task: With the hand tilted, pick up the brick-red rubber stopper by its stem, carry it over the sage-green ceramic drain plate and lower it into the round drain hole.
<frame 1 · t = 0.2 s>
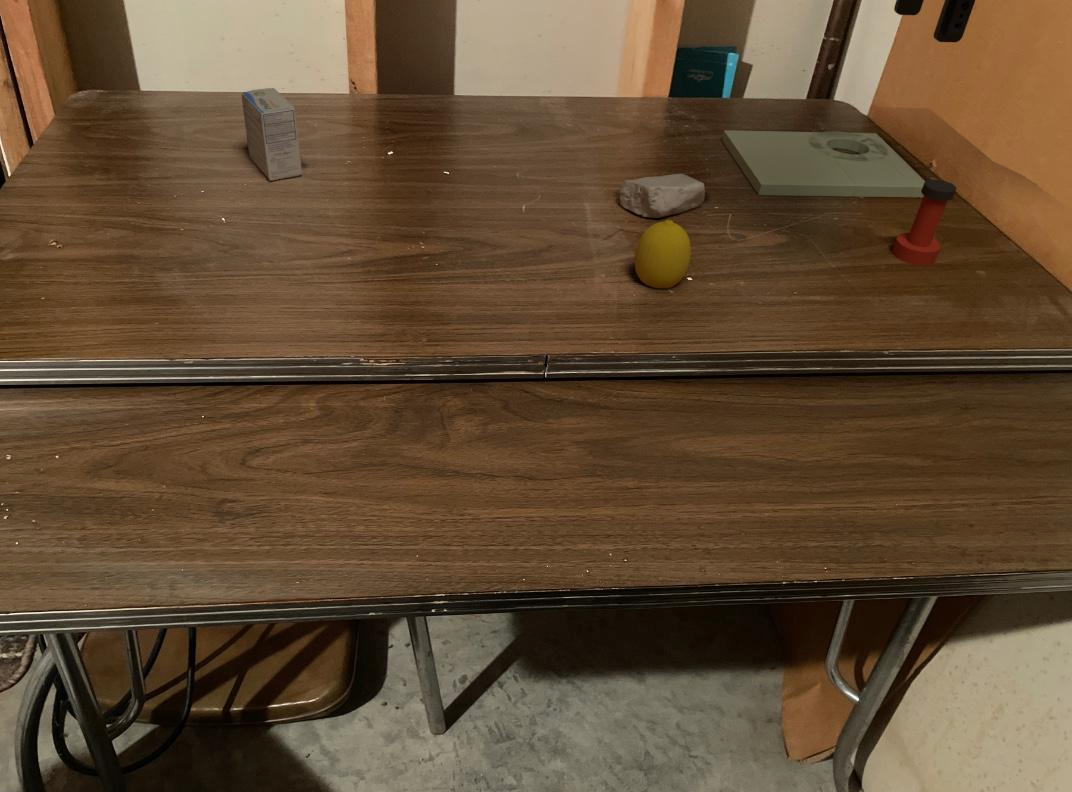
hand: (924, 27, 81), 26 cm above the table, tool pointing down, fingers open, 8 cm apart
medicine box: (275, 169, 116), on the table
stopper: (909, 266, 102), on the table
lemon: (655, 292, 96), on the table
grey chipped rock: (663, 209, 112), on the table
drain plate: (819, 167, 123), on the table
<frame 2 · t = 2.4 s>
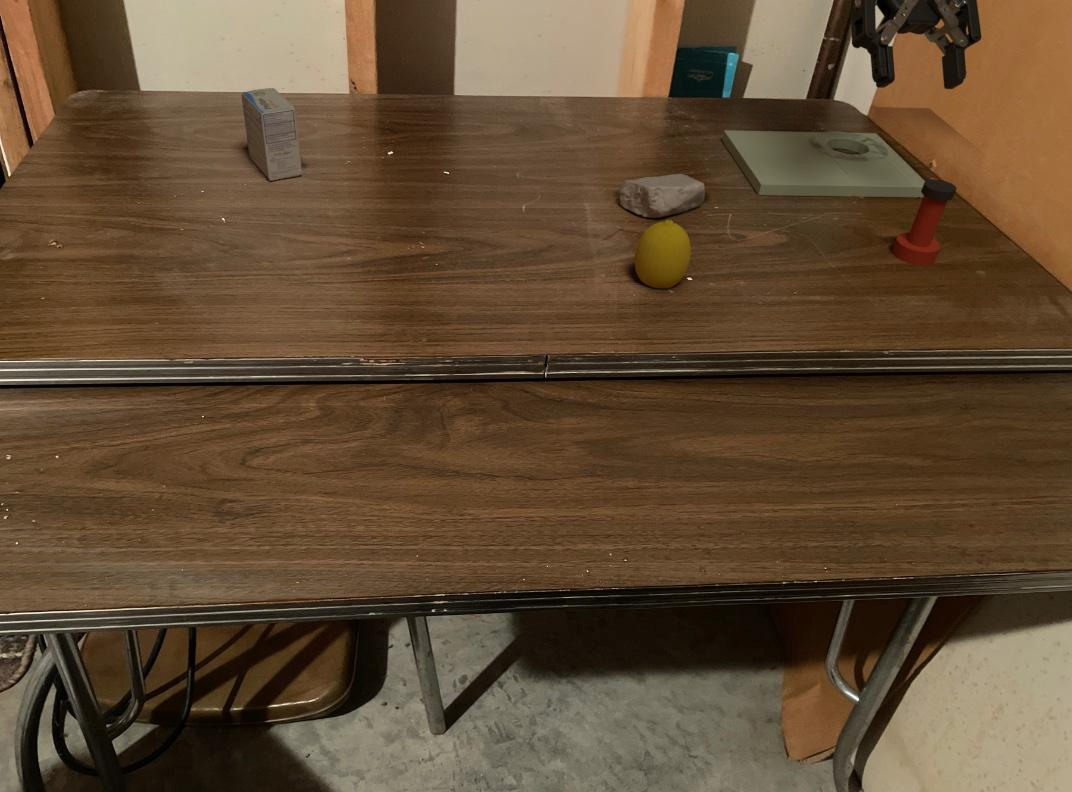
hand: (920, 85, 99), 17 cm above the table, tool tilted 40°, fingers open, 8 cm apart
nothing on the table moved.
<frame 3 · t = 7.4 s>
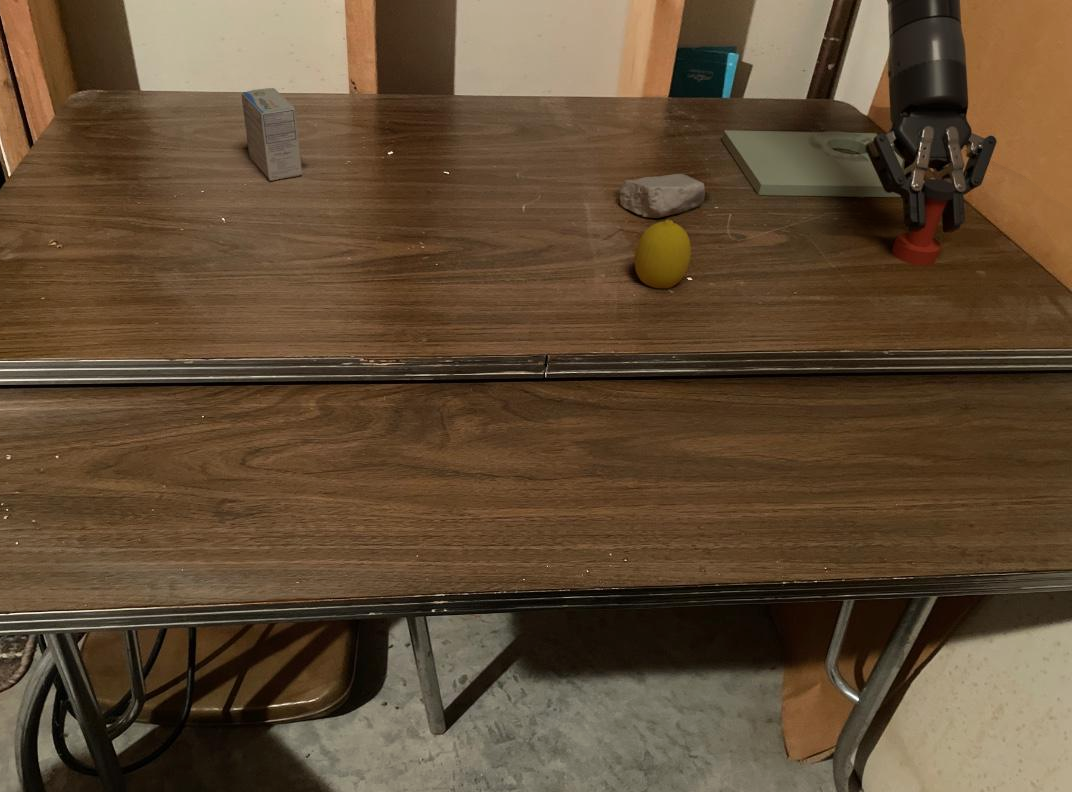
hand: (934, 229, 97), 5 cm above the table, tool tilted 45°, fingers closed on stopper, 3 cm apart
stopper: (909, 266, 102), on the table, touching gripper
everything else where it was.
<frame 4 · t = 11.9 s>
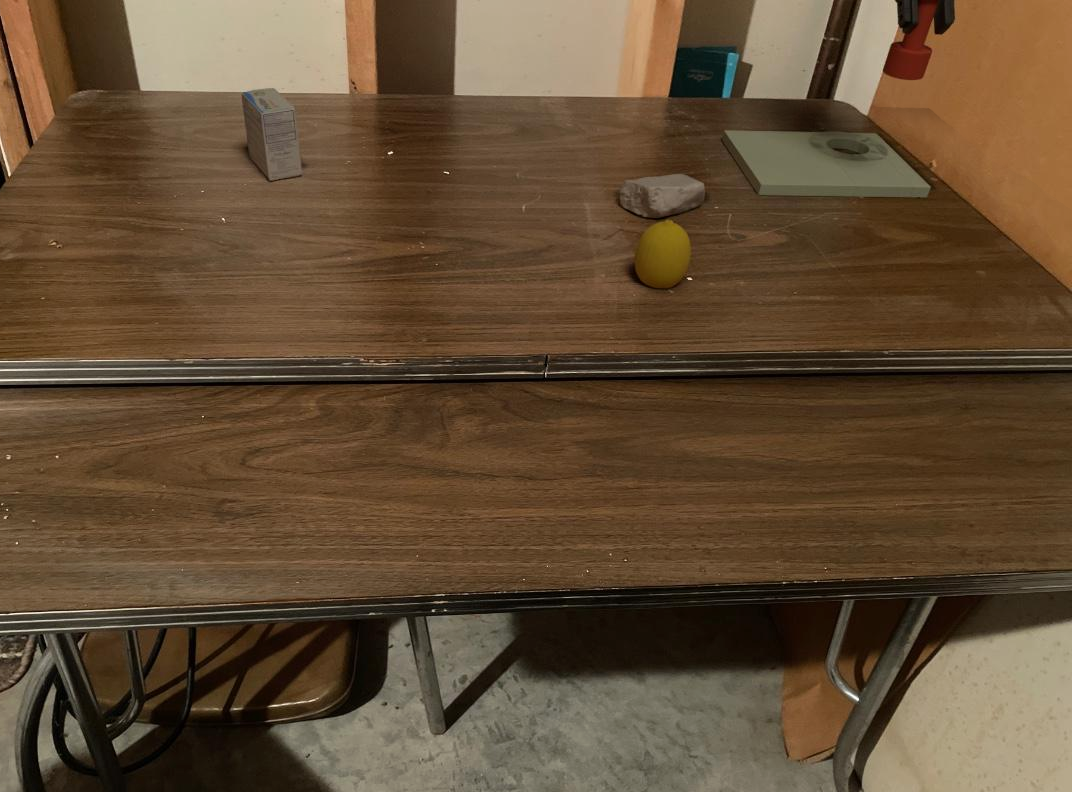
hand: (927, 29, 103), 20 cm above the table, tool tilted 45°, fingers closed on stopper, 3 cm apart
stopper: (902, 73, 108), point 15 cm above the table, touching gripper
everything else where it was.
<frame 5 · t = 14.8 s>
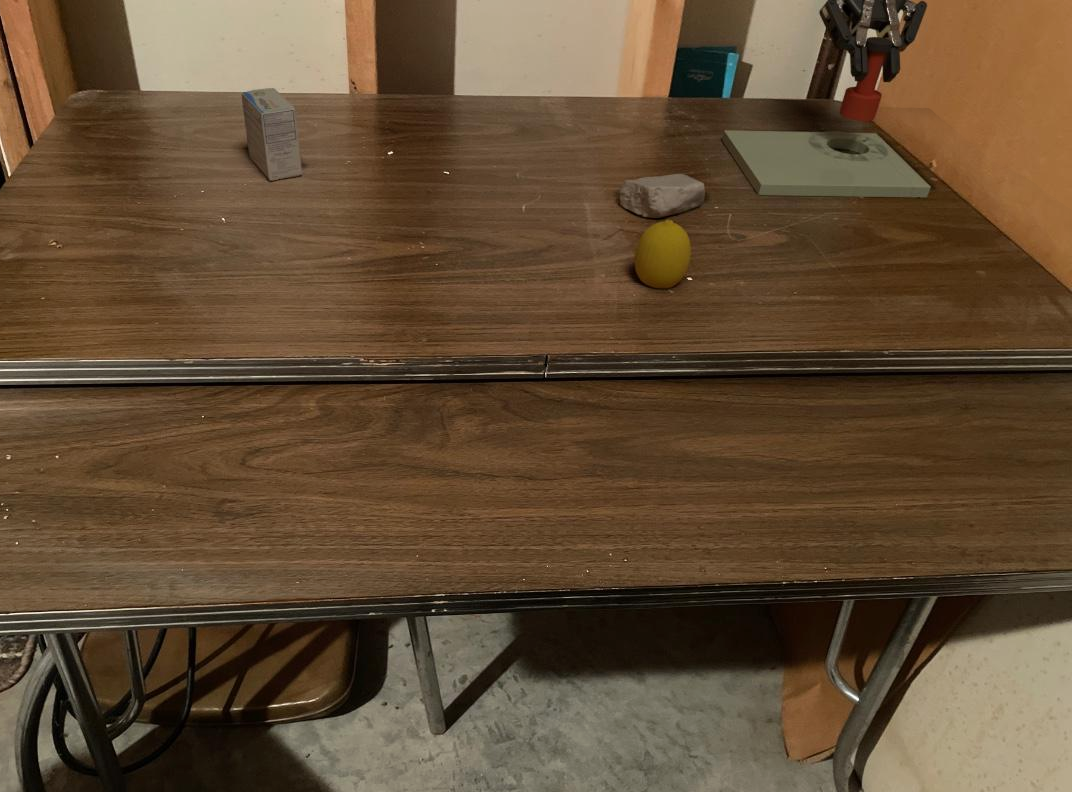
hand: (875, 78, 118), 11 cm above the table, tool tilted 45°, fingers closed on stopper, 3 cm apart
stopper: (856, 115, 123), point 6 cm above the table, touching gripper
everything else where it was.
when the fingers open (5 cm above the table, at t = 16.8 s): stopper stays where it is, resting in drain plate.
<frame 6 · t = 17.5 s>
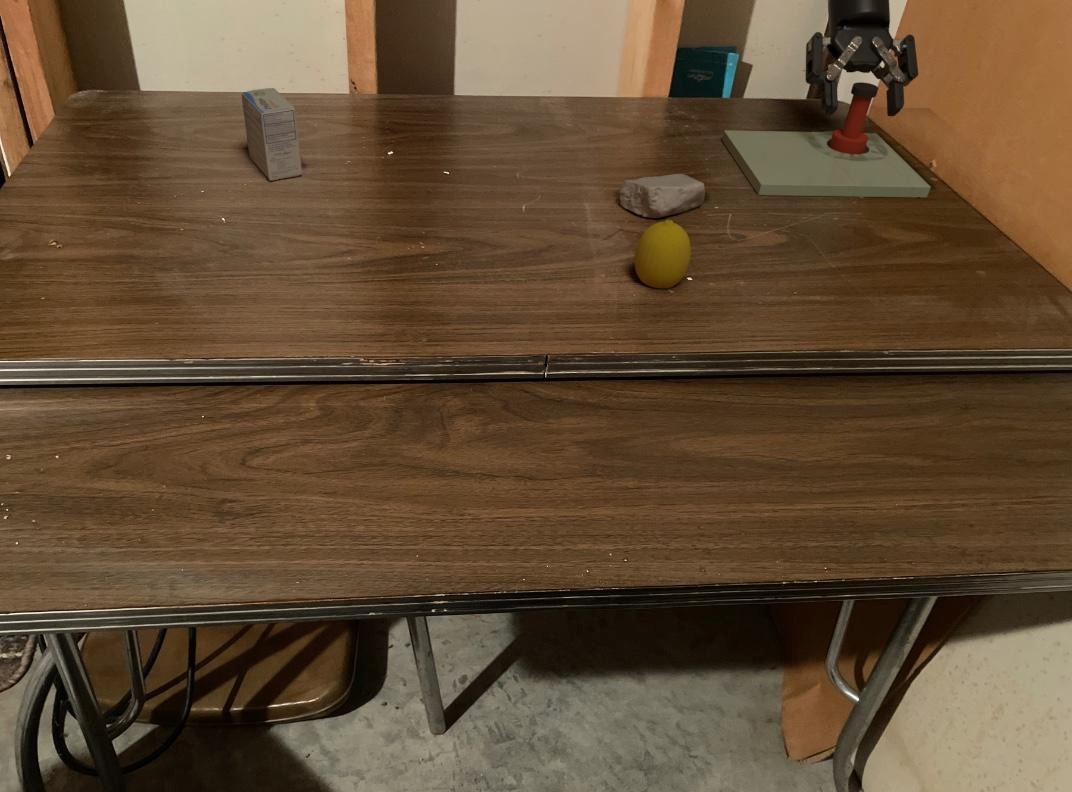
hand: (863, 113, 121), 6 cm above the table, tool tilted 45°, fingers open, 8 cm apart
stopper: (844, 156, 126), resting in drain plate
everything else where it was.
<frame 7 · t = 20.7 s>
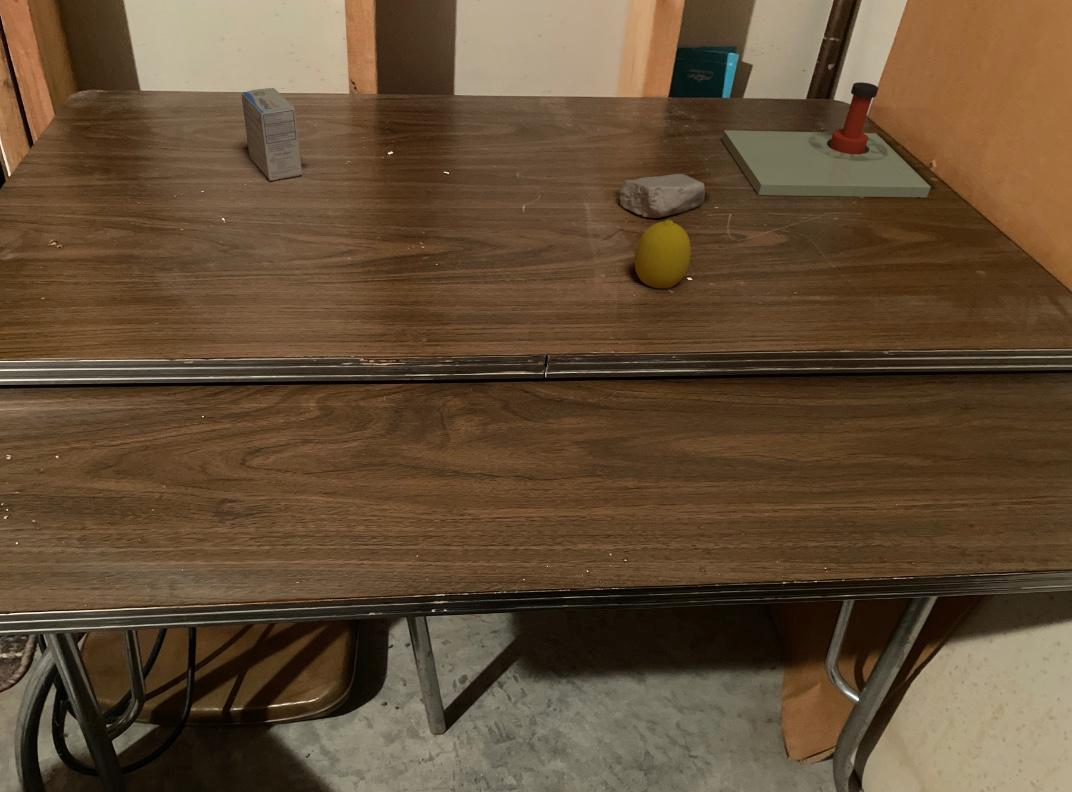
nothing on the table moved.
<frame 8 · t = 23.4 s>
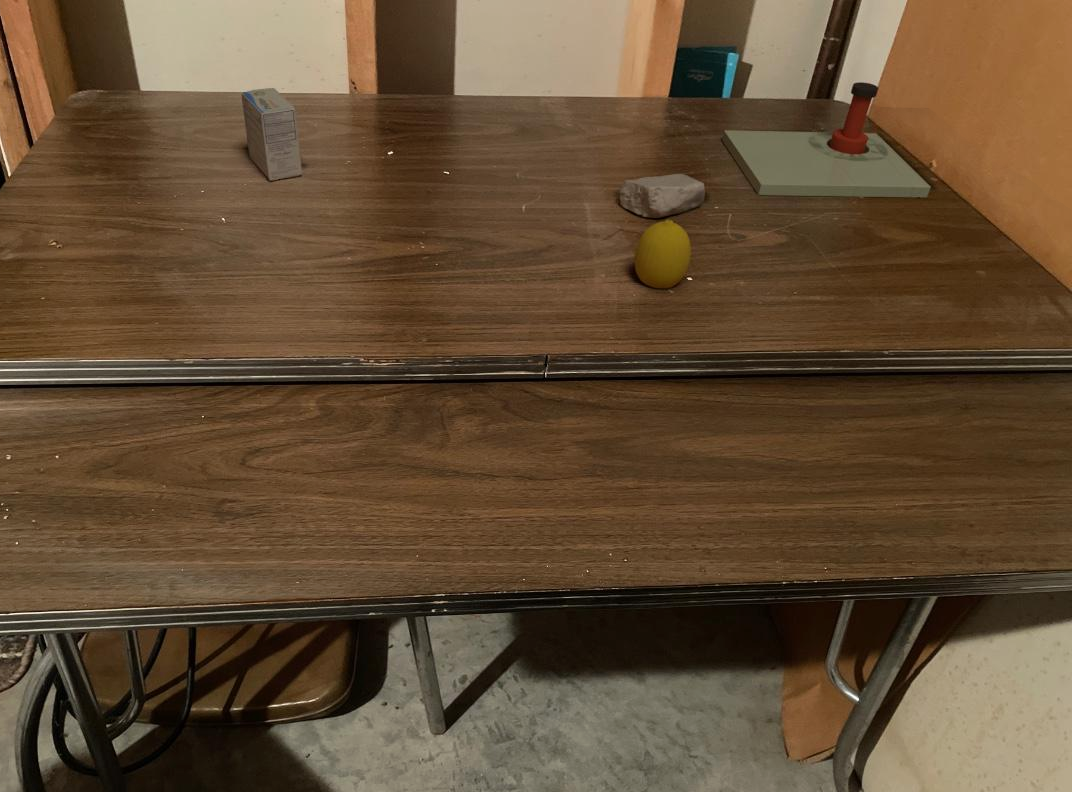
nothing on the table moved.
at the end: stopper 0.1 cm from the target spot in the drain plate, point 0.0 cm above the drain plate's base; stopper tilted 0°; the gripper is holding nothing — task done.
